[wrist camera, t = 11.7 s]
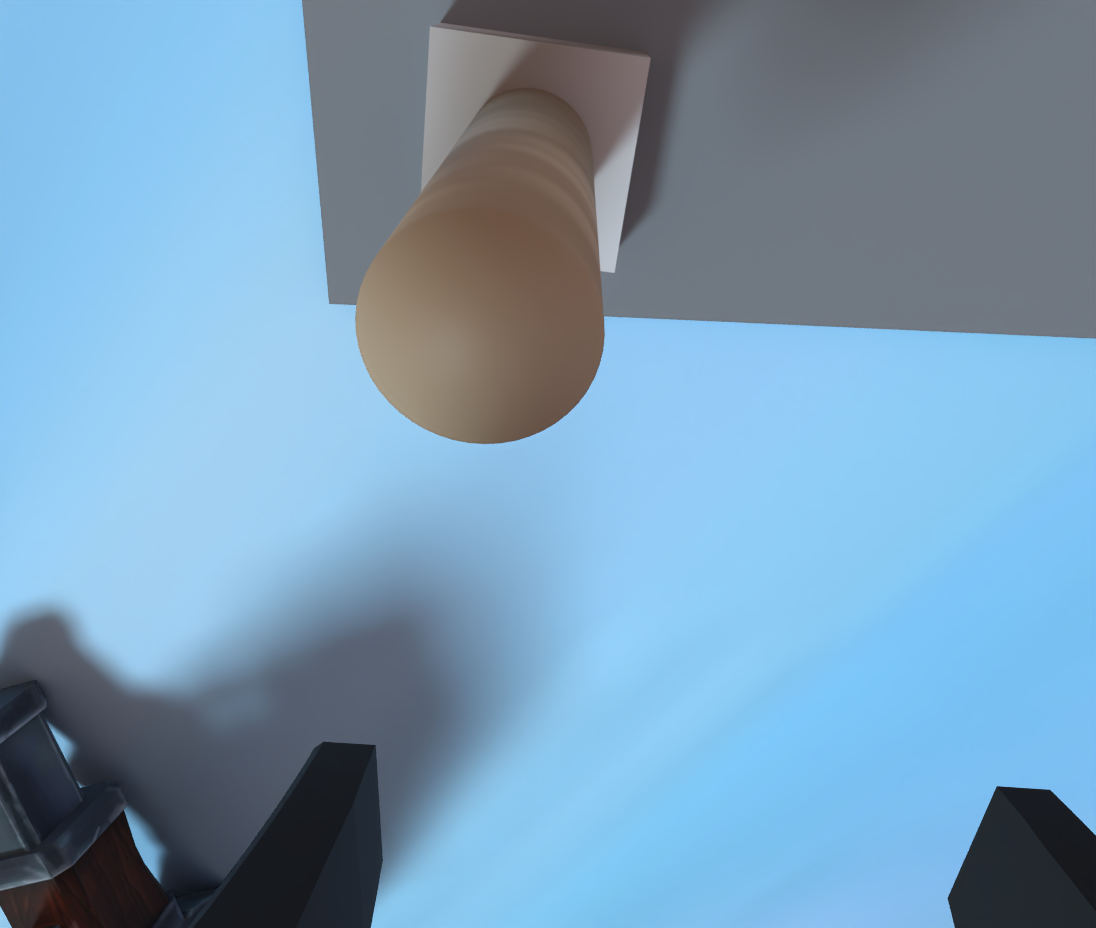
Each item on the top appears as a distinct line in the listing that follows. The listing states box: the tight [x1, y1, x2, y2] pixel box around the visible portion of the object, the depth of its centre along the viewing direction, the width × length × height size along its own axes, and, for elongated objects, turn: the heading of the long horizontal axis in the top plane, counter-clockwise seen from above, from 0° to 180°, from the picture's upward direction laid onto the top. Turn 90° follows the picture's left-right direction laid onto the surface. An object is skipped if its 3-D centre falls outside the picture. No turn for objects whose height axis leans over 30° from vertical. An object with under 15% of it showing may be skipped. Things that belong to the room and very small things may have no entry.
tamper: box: [355, 23, 651, 444], centre depth 12 cm, size 4×4×10 cm
